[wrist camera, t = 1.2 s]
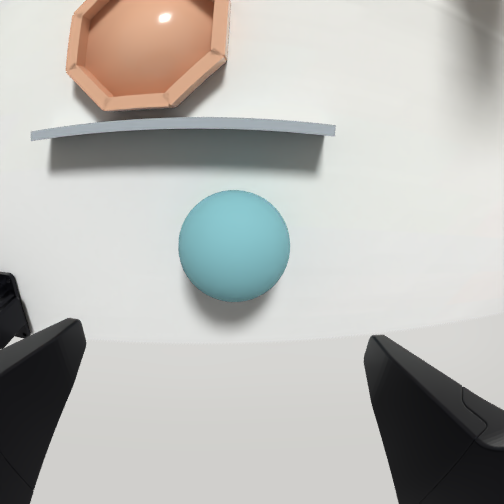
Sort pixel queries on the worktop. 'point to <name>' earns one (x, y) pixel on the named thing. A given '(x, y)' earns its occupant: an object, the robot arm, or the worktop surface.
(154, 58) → the saucer
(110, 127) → the low wall
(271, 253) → the ball
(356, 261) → the worktop surface
